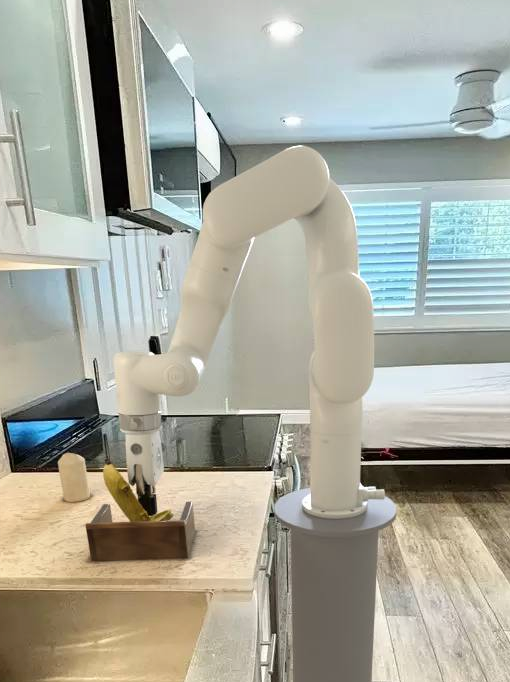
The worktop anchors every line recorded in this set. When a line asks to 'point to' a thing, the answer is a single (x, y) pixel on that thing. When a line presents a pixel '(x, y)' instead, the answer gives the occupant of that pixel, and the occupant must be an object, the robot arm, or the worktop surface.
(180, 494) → the worktop surface
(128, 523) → the wooden u-shaped stand
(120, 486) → the ripe yellow banana
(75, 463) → the candle
